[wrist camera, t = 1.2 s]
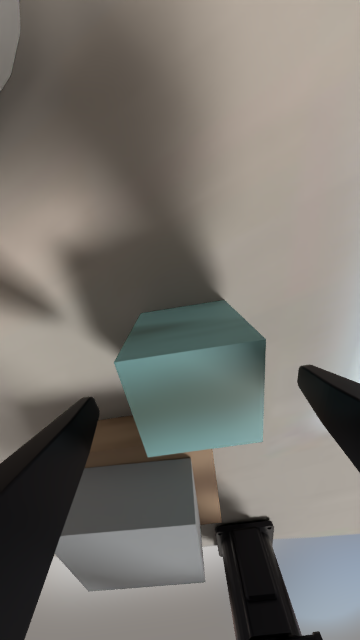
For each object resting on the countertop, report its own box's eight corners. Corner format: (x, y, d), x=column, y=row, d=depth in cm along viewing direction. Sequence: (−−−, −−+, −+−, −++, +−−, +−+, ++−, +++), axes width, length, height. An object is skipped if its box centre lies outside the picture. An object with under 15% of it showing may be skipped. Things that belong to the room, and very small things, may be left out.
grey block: (199, 518, 14) (205, 582, 12) (105, 526, 15) (88, 591, 12) (190, 458, 11) (195, 524, 9) (73, 469, 12) (40, 537, 9)
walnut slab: (214, 479, 18) (221, 522, 15) (109, 492, 18) (97, 536, 15) (203, 398, 14) (210, 436, 11) (68, 417, 14) (42, 458, 11)
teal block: (228, 368, 12) (262, 441, 7) (157, 378, 12) (147, 457, 8) (223, 299, 10) (265, 339, 6) (141, 312, 10) (113, 362, 6)
